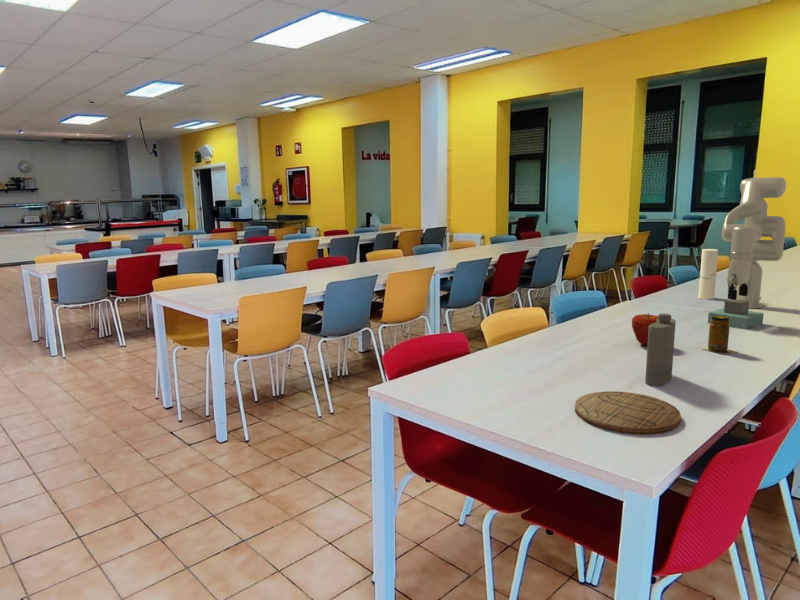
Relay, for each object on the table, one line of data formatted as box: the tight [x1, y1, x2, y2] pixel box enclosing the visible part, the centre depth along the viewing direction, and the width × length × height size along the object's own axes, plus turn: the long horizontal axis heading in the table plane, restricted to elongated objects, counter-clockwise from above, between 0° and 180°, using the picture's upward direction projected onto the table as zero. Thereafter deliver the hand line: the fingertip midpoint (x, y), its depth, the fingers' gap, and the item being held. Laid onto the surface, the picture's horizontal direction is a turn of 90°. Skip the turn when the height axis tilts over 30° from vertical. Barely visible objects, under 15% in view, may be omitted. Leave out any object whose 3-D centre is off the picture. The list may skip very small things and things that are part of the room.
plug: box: [723, 299, 750, 315], centre depth 234 cm, size 7×7×9 cm
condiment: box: [702, 316, 738, 355], centre depth 196 cm, size 7×8×12 cm
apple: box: [631, 313, 658, 346], centre depth 205 cm, size 11×11×12 cm
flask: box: [644, 312, 677, 387], centre depth 167 cm, size 15×6×20 cm, turn 144°
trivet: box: [574, 390, 682, 436], centre depth 144 cm, size 25×25×2 cm
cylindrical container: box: [698, 248, 719, 300], centre depth 286 cm, size 7×7×25 cm
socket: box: [707, 307, 764, 330], centre depth 235 cm, size 15×15×4 cm
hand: (737, 297), depth 234 cm, fingers open, 9 cm apart
